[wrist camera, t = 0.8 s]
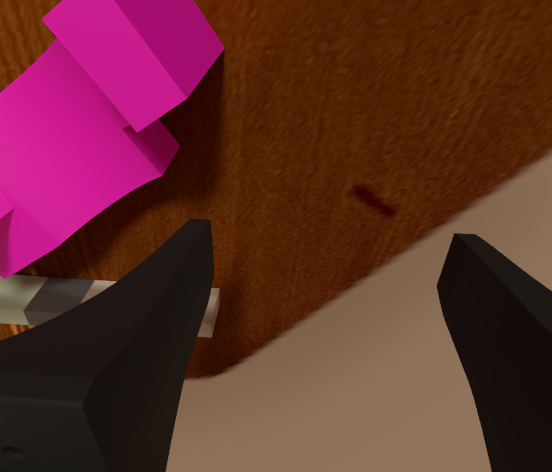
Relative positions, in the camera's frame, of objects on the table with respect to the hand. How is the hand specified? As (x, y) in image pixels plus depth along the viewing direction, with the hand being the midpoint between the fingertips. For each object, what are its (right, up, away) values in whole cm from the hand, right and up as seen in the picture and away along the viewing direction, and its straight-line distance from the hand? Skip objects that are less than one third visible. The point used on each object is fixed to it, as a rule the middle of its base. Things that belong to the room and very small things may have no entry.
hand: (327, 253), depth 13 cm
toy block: (-10, +6, +8) cm, 15 cm away
